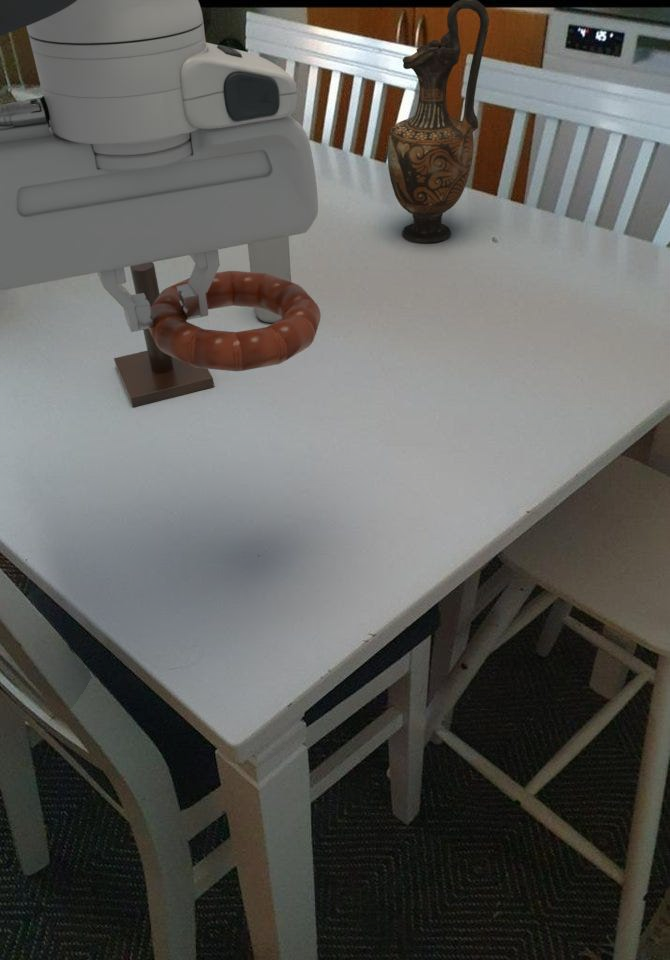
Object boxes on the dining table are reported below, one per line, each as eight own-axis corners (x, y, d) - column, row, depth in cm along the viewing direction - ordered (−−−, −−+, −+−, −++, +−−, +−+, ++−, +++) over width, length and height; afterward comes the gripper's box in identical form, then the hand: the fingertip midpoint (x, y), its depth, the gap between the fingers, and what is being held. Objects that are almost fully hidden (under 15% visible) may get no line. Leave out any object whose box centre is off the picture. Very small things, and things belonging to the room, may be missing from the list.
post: (132, 407, 86) (106, 293, 77) (115, 367, 92) (89, 257, 84) (214, 387, 88) (197, 274, 80) (192, 349, 95) (174, 241, 86)
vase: (396, 216, 124) (400, -11, 104) (477, 222, 121) (496, -10, 102) (378, 247, 115) (378, 6, 96) (465, 255, 112) (483, 8, 93)
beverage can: (251, 323, 99) (240, 228, 91) (260, 305, 103) (251, 212, 95) (289, 325, 98) (282, 230, 91) (297, 307, 102) (291, 213, 94)
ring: (173, 391, 49) (169, 356, 47) (135, 310, 57) (130, 278, 55) (344, 359, 52) (345, 326, 51) (285, 288, 60) (285, 257, 59)
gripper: (-79, 130, 38) (5, 381, 47) (323, 77, 44) (331, 309, 53) (-81, 99, 43) (-5, 333, 51) (283, 55, 48) (296, 271, 57)
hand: (168, 320), depth 52 cm, fingers closed on ring, 2 cm apart
